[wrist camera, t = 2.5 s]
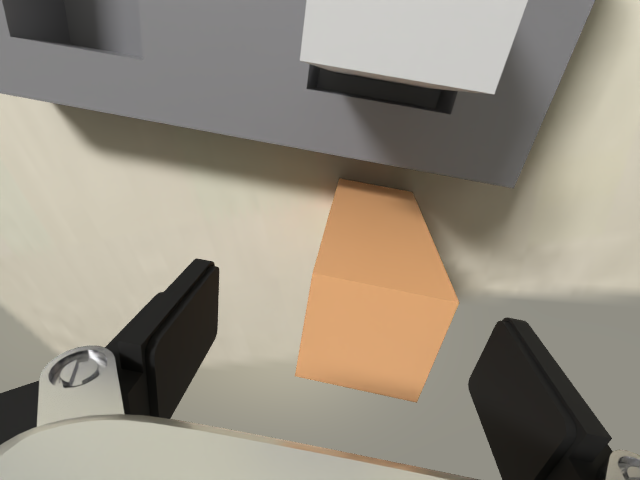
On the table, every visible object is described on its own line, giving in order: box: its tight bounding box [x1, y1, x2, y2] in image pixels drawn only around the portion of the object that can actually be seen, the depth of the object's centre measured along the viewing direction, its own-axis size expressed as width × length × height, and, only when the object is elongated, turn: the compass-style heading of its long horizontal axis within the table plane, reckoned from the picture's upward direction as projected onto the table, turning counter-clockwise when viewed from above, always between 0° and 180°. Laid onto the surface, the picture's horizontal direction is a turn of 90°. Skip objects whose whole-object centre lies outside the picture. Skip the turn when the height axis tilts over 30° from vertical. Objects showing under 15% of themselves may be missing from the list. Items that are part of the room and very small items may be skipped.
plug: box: [295, 178, 459, 402], centre depth 14 cm, size 4×4×10 cm
